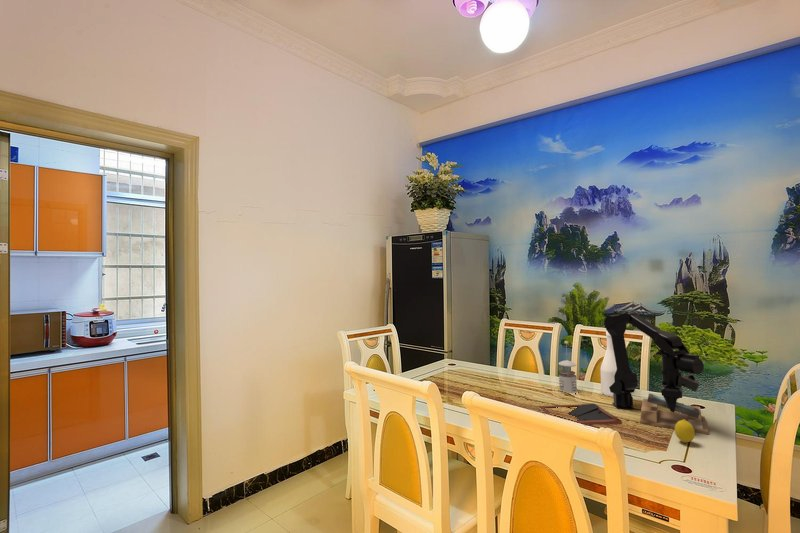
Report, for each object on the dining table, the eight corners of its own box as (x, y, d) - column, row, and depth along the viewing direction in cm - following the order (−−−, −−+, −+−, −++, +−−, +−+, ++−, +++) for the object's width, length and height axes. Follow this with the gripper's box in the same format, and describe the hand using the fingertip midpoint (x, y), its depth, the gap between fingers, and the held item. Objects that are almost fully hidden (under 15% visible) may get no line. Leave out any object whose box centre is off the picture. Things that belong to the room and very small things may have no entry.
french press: (557, 394, 192) (555, 342, 192) (557, 387, 203) (555, 338, 203) (579, 395, 188) (577, 343, 188) (578, 388, 199) (576, 338, 199)
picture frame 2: (647, 401, 154) (648, 395, 154) (647, 397, 158) (649, 392, 158) (697, 418, 145) (699, 412, 145) (697, 414, 149) (698, 408, 149)
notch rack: (639, 423, 154) (639, 410, 154) (642, 409, 168) (641, 398, 168) (708, 434, 142) (707, 420, 142) (705, 419, 156) (704, 406, 156)
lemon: (695, 448, 132) (695, 423, 132) (675, 444, 135) (674, 420, 135) (694, 441, 137) (693, 418, 137) (674, 438, 140) (673, 415, 140)
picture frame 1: (594, 407, 174) (538, 410, 173) (594, 403, 174) (538, 405, 173) (621, 425, 154) (558, 428, 153) (621, 420, 154) (558, 423, 153)
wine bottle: (616, 391, 194) (614, 329, 194) (628, 397, 184) (625, 332, 185) (597, 391, 193) (595, 330, 194) (608, 398, 184) (605, 333, 184)
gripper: (698, 376, 139) (700, 421, 139) (695, 365, 155) (697, 405, 155) (660, 373, 146) (662, 415, 145) (661, 362, 161) (663, 401, 161)
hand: (672, 409), depth 151 cm, fingers closed on picture frame 2, 5 cm apart
